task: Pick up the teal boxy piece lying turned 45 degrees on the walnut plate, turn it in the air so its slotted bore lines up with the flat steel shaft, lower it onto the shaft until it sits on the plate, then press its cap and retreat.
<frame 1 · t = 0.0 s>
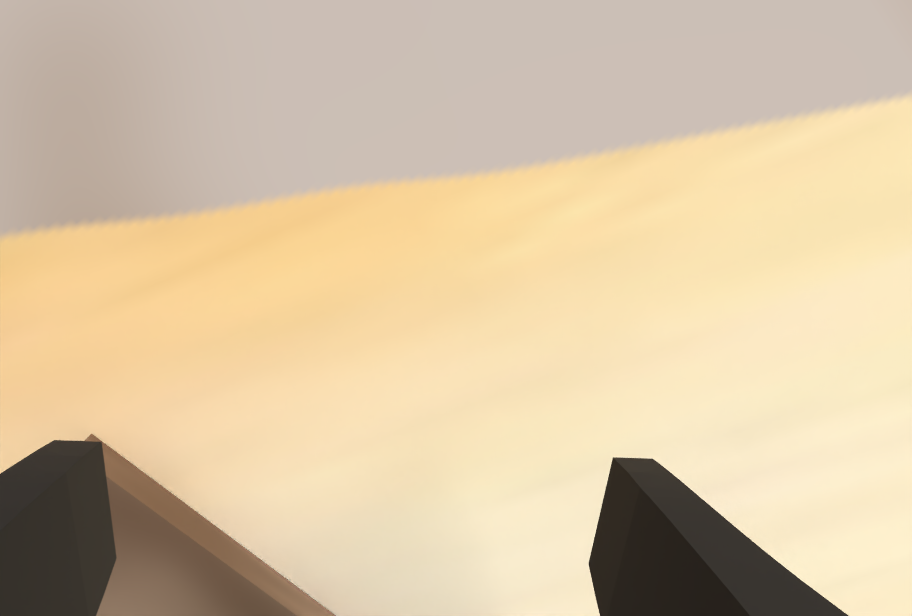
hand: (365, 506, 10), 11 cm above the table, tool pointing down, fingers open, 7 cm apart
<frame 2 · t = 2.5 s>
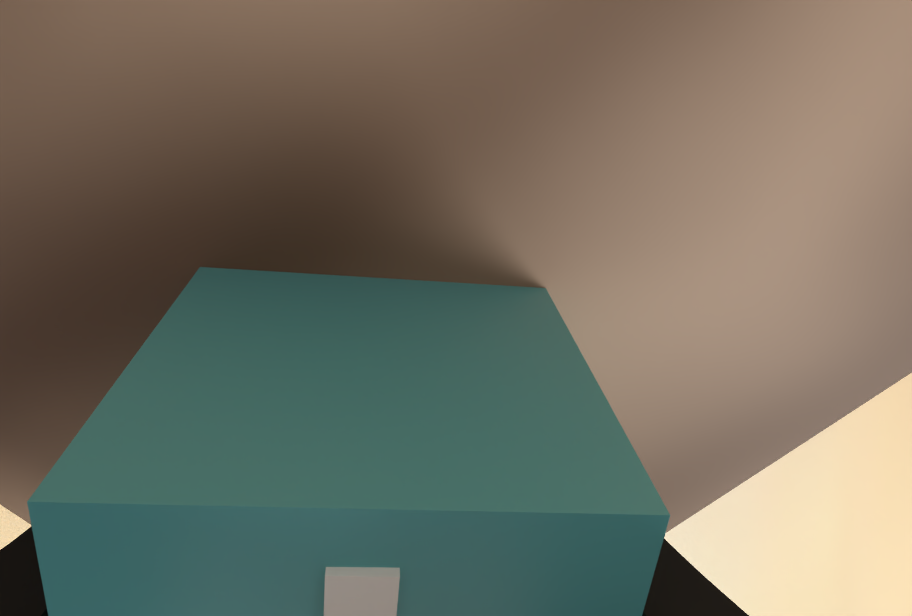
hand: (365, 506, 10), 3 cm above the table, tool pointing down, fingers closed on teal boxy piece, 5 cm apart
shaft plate: (338, 123, 10), on the table
teal boxy piece: (368, 449, 11), point 1 cm above the table, touching gripper, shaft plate
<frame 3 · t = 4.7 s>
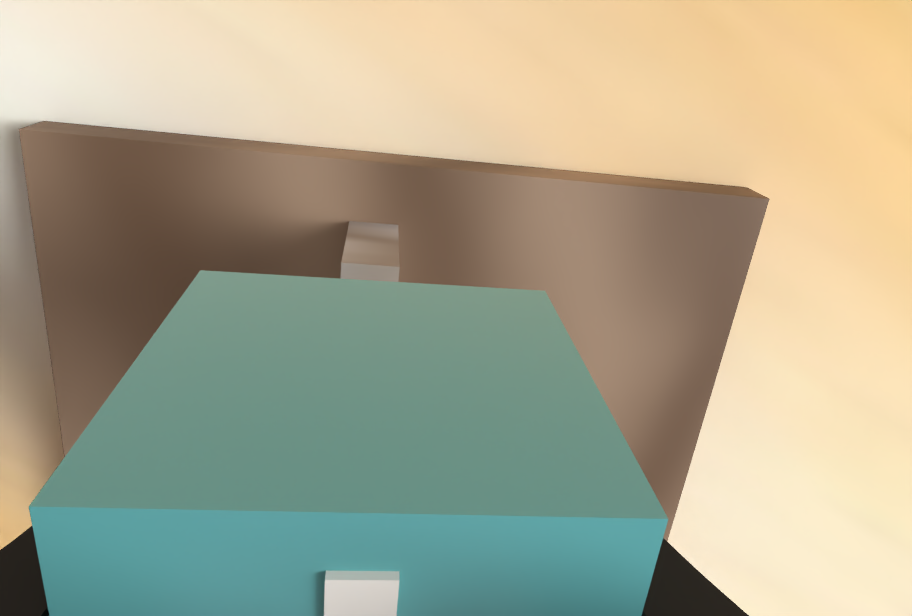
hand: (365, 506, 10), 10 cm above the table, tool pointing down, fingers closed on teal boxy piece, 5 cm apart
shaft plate: (394, 421, 21), on the table
teal boxy piece: (368, 451, 11), point 8 cm above the table, touching gripper
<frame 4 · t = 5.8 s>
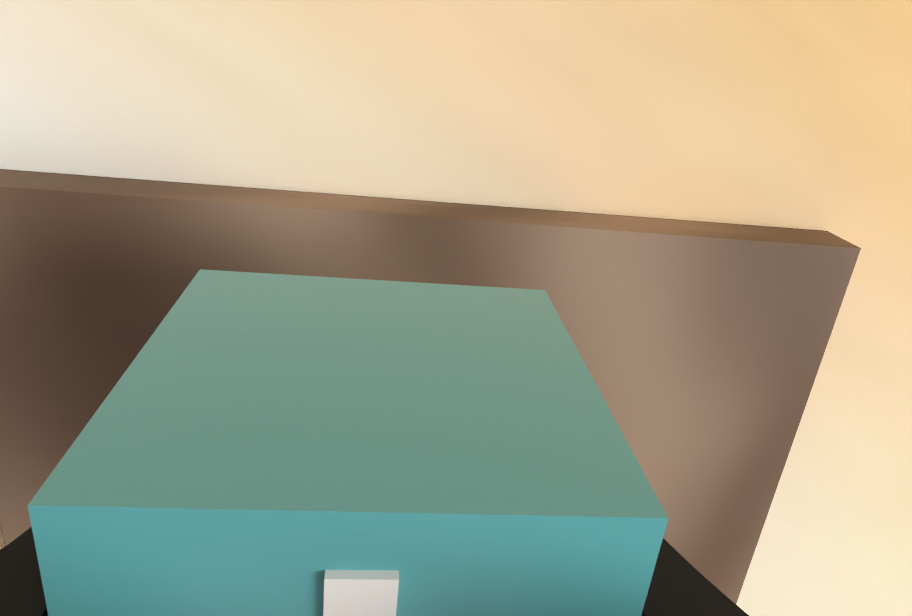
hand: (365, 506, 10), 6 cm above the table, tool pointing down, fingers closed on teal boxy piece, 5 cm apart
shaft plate: (403, 506, 17), on the table
teal boxy piece: (367, 450, 11), point 5 cm above the table, touching gripper
when the fingers open (3 cm above the table, at t = 6.9 s): teal boxy piece stays where it is, resting on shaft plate.
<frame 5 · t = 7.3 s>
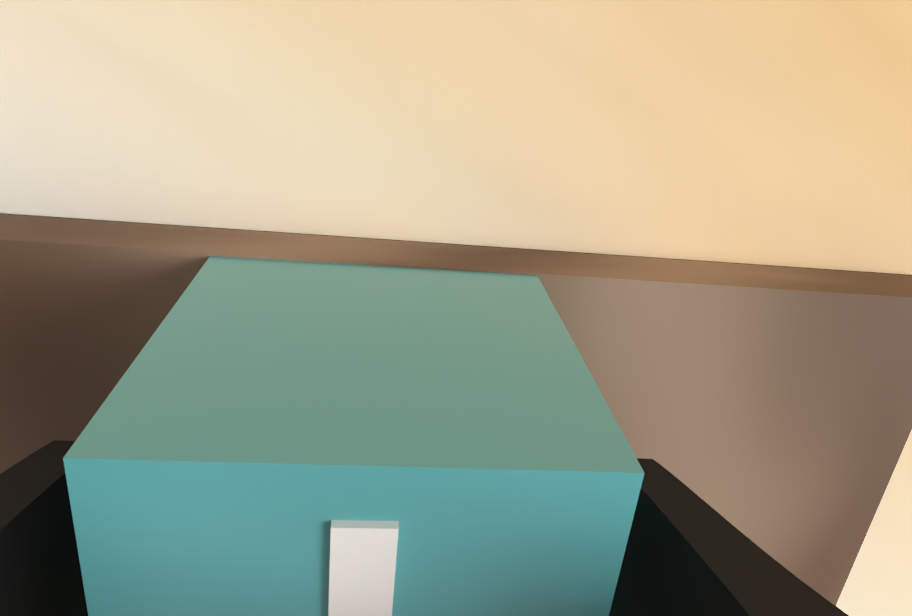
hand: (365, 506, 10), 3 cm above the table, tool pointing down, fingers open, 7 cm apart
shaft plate: (406, 592, 15), on the table
teal boxy piece: (369, 430, 12), point 1 cm above the table, touching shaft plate
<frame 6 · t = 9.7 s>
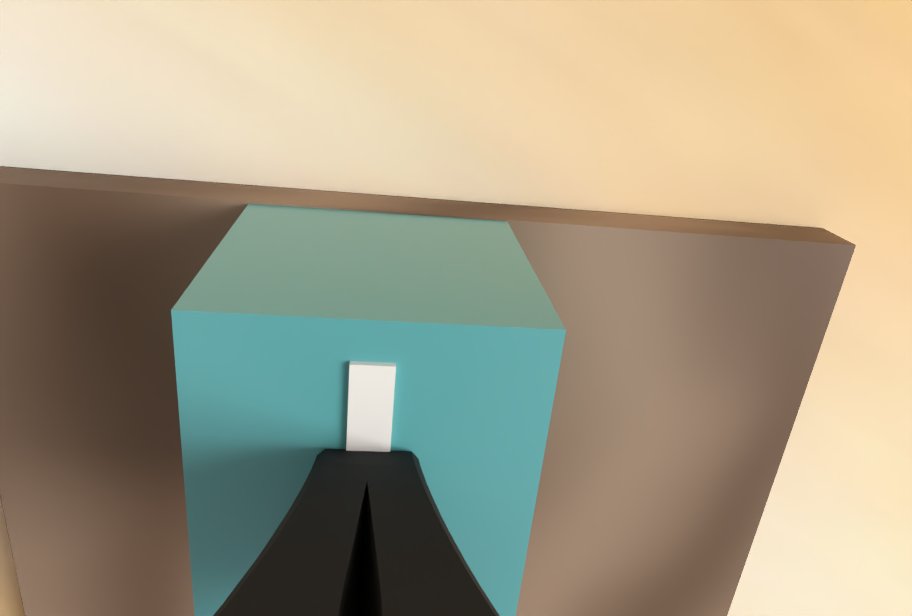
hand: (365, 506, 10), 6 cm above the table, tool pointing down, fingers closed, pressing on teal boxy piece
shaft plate: (403, 501, 18), on the table
teal boxy piece: (373, 349, 14), point 1 cm above the table, touching gripper, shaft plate
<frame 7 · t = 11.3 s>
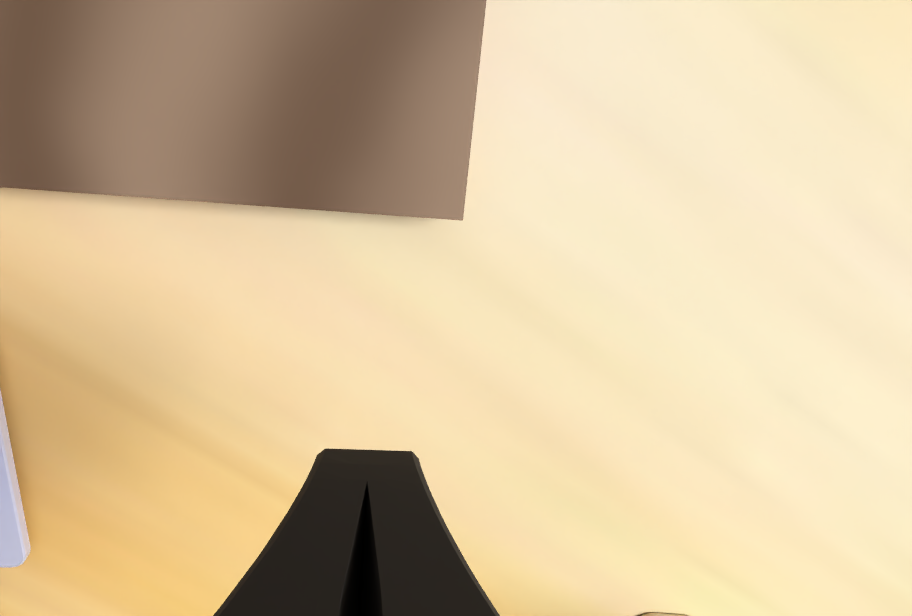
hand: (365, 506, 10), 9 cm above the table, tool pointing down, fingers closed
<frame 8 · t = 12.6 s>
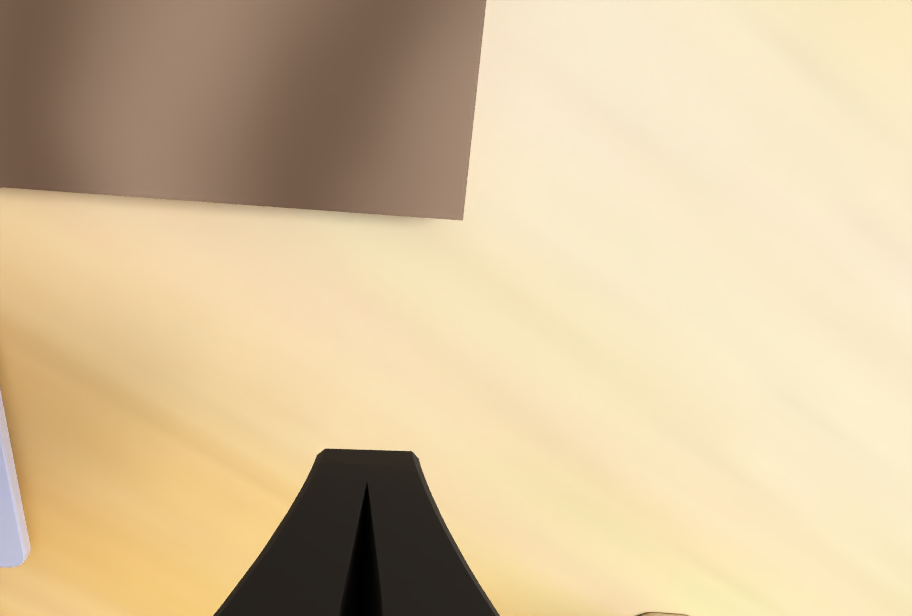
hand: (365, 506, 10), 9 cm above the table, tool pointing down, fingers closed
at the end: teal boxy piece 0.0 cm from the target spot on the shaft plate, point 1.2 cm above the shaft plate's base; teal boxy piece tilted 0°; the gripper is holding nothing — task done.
